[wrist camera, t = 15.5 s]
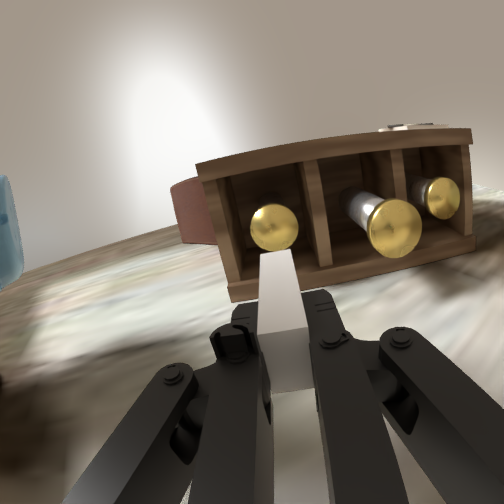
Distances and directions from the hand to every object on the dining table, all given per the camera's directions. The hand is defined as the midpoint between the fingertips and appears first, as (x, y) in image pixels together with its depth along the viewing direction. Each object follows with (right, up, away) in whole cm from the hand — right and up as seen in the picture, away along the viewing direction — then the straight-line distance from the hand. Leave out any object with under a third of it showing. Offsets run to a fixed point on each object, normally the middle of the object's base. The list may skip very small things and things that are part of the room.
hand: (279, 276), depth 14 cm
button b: (+11, +3, +13) cm, 18 cm away
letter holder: (-7, +4, +46) cm, 47 cm away
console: (+13, +1, +23) cm, 26 cm away
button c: (+2, +4, +21) cm, 21 cm away
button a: (+21, +7, +19) cm, 29 cm away
